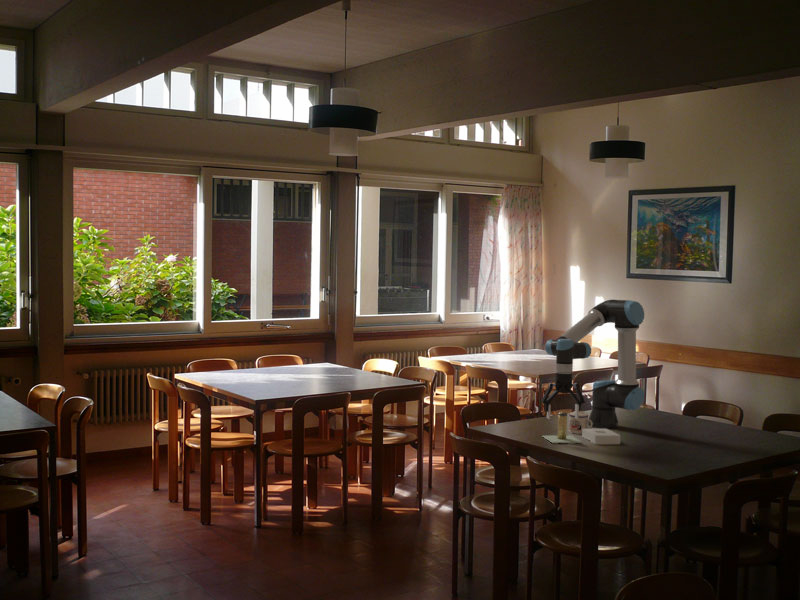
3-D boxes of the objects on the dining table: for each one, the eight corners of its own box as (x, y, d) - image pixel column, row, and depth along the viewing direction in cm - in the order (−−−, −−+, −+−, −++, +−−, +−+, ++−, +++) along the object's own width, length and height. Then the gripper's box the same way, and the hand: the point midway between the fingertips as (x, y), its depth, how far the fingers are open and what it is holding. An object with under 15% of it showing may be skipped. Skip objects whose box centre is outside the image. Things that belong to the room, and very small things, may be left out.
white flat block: (581, 437, 387) (582, 428, 387) (605, 436, 389) (606, 428, 389) (595, 444, 371) (595, 435, 371) (620, 444, 373) (620, 435, 373)
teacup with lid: (565, 432, 397) (565, 408, 397) (574, 430, 404) (575, 406, 403) (587, 436, 389) (588, 412, 388) (596, 433, 396) (597, 409, 395)
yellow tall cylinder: (555, 437, 379) (556, 412, 378) (564, 437, 379) (565, 412, 379) (559, 439, 375) (560, 413, 374) (567, 439, 375) (568, 413, 375)
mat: (542, 437, 383) (542, 435, 383) (570, 437, 385) (570, 435, 385) (552, 444, 369) (552, 442, 369) (581, 444, 371) (581, 441, 371)
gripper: (540, 373, 370) (539, 420, 371) (593, 373, 374) (591, 419, 375) (535, 371, 377) (533, 417, 378) (586, 371, 381) (585, 416, 382)
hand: (562, 418), depth 377 cm, fingers open, 13 cm apart
